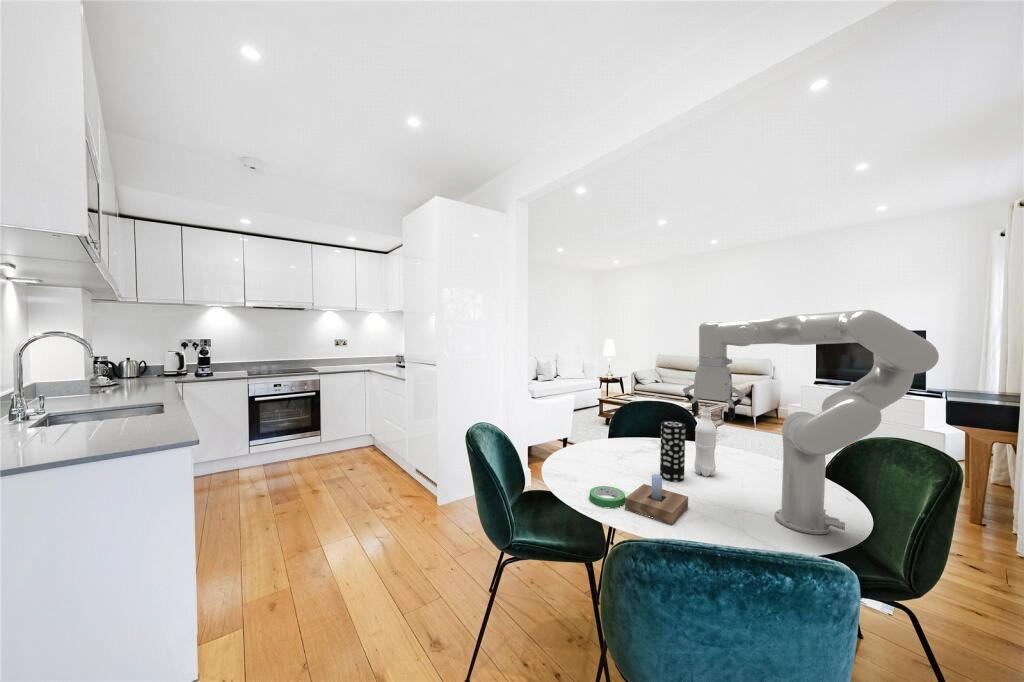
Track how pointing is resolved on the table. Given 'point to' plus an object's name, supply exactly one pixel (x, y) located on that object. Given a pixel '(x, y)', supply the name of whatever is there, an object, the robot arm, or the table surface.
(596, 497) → the tape roll
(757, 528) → the table surface
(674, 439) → the white-spotted black cylinder
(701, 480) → the table surface
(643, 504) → the block
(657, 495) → the peg
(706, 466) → the water bottle
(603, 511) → the table surface
